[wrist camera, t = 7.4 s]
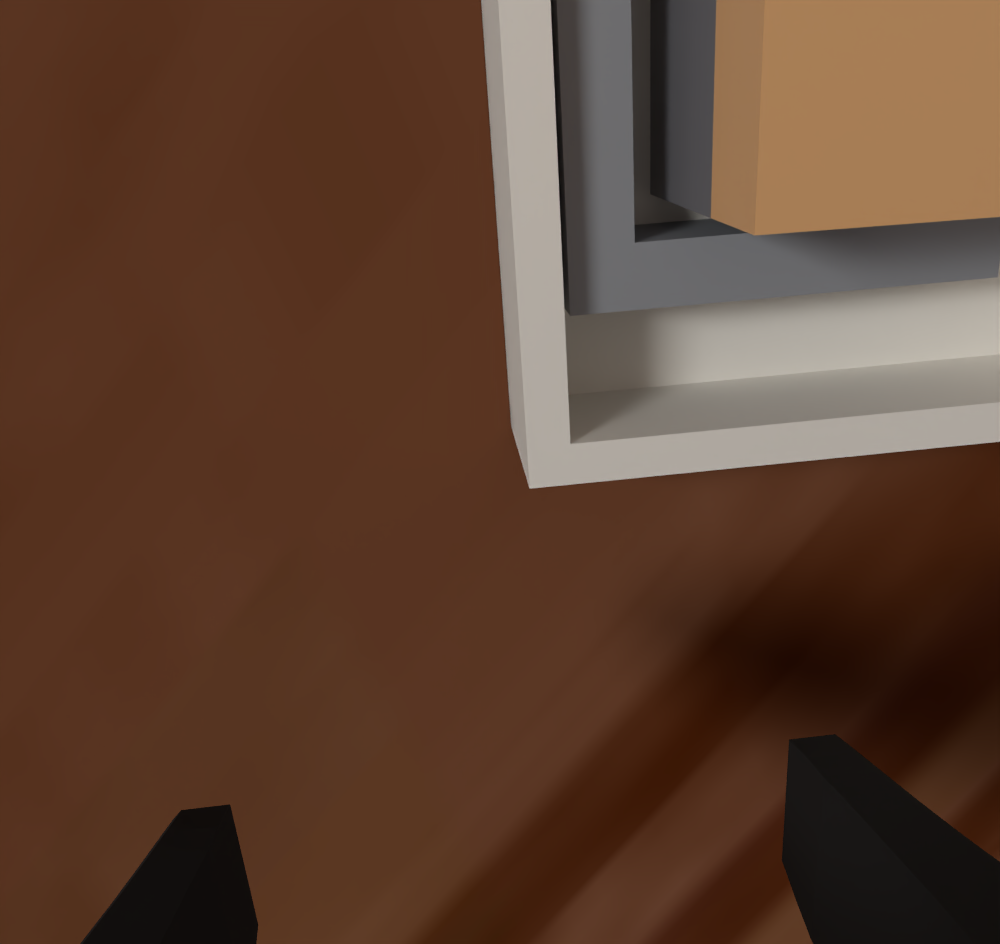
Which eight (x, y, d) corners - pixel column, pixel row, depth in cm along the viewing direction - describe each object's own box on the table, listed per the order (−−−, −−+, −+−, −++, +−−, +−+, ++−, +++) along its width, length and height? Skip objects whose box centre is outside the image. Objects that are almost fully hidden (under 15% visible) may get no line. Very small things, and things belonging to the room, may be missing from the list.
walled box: (1243, -279, 16) (1446, -373, 13) (1119, 367, 21) (1247, 416, 18) (464, -234, 16) (477, -321, 12) (511, 426, 20) (529, 488, 17)
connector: (865, -49, 17) (1089, -124, 11) (847, 179, 18) (1036, 214, 13) (650, -37, 16) (769, -106, 11) (650, 194, 18) (754, 235, 12)
